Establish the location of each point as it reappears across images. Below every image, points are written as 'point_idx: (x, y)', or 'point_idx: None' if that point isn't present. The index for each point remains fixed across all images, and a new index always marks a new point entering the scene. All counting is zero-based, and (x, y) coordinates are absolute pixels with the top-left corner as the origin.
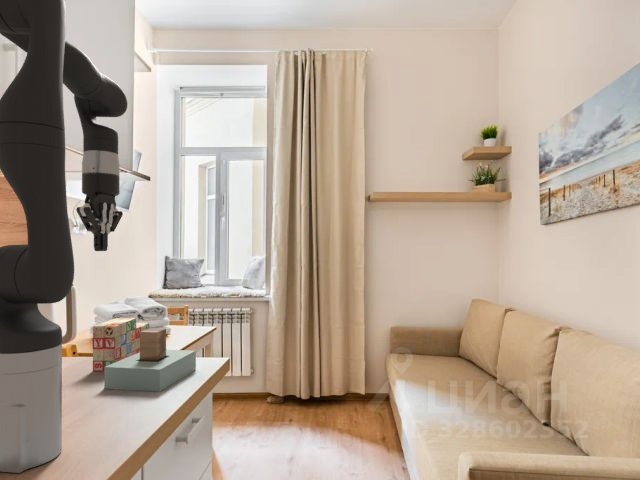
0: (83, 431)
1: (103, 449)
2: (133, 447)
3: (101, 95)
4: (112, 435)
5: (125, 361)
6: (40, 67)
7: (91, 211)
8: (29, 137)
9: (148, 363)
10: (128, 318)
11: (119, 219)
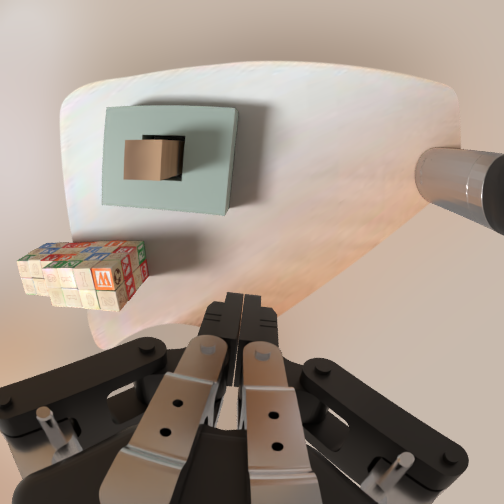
0: (384, 150)
1: (422, 109)
2: (416, 81)
3: None
4: (393, 112)
5: (186, 197)
6: None
7: (419, 455)
8: None
9: (196, 147)
10: (47, 281)
11: (47, 377)
